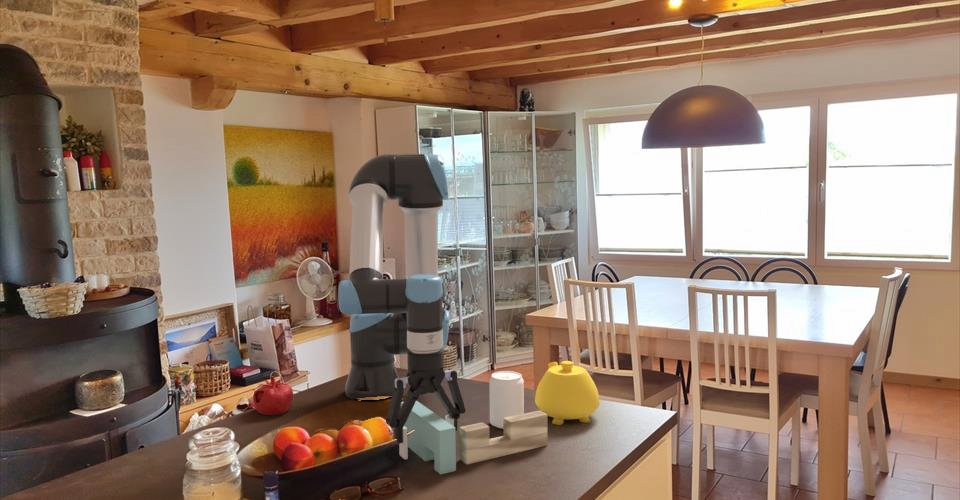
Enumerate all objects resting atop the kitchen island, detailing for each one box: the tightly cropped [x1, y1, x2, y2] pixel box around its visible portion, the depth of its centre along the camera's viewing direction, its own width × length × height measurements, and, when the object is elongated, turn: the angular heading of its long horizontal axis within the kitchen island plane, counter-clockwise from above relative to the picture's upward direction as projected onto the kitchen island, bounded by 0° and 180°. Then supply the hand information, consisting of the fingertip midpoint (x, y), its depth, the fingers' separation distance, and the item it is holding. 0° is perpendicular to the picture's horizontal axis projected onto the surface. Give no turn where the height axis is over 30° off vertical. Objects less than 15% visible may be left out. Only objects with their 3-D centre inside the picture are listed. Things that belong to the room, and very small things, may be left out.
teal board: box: [400, 400, 457, 475], centre depth 147 cm, size 20×4×9 cm, turn 29°
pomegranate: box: [252, 375, 295, 416], centre depth 176 cm, size 10×10×9 cm
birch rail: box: [459, 409, 548, 465], centre depth 148 cm, size 3×20×7 cm, turn 119°
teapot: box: [534, 360, 600, 426], centre depth 171 cm, size 20×16×14 cm
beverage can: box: [488, 370, 525, 429], centre depth 164 cm, size 8×8×12 cm
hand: (427, 451), depth 147 cm, fingers open, 10 cm apart
